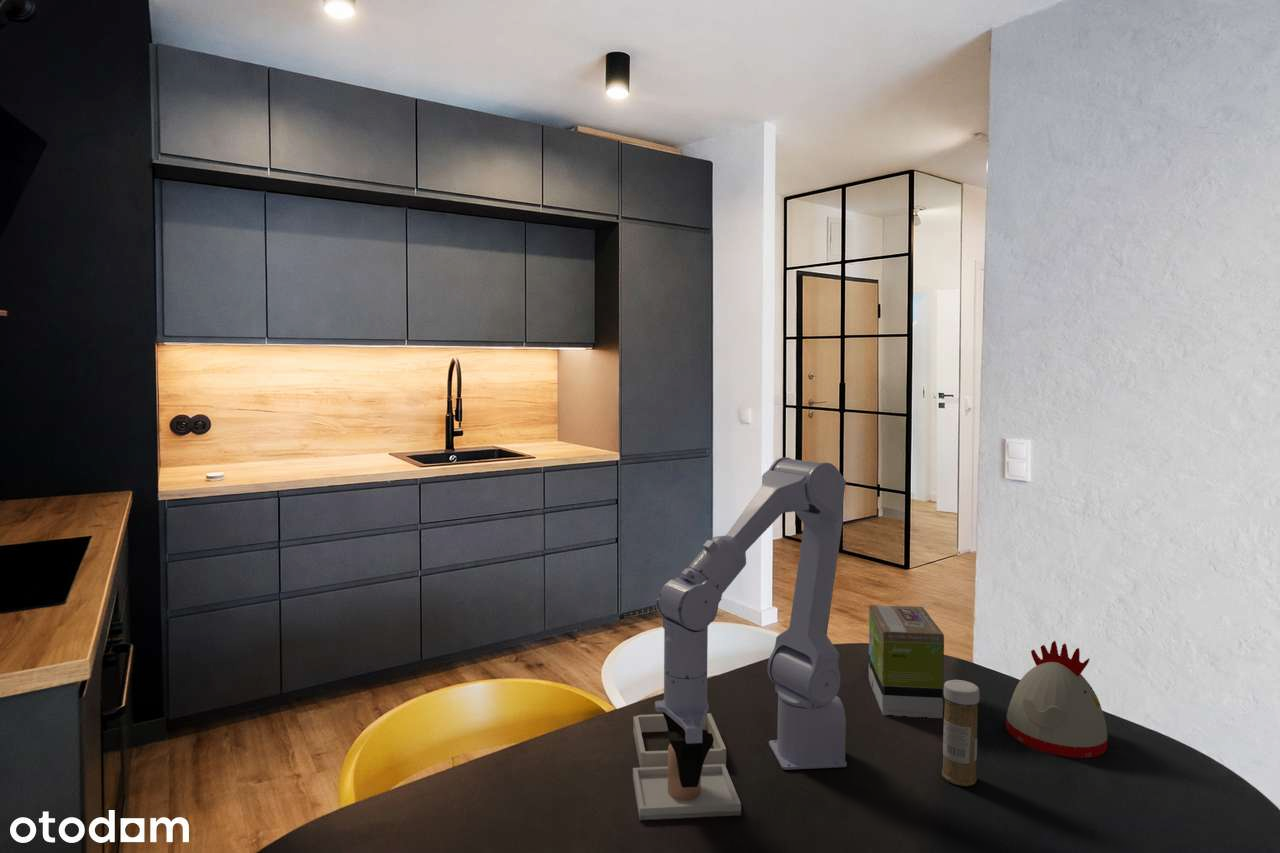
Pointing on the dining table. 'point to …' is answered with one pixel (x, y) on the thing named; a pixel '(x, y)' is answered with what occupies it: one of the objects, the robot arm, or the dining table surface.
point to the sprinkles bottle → (960, 732)
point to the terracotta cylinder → (674, 780)
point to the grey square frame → (661, 757)
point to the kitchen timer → (1057, 707)
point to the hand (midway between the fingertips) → (684, 770)
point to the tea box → (906, 661)
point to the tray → (659, 804)
